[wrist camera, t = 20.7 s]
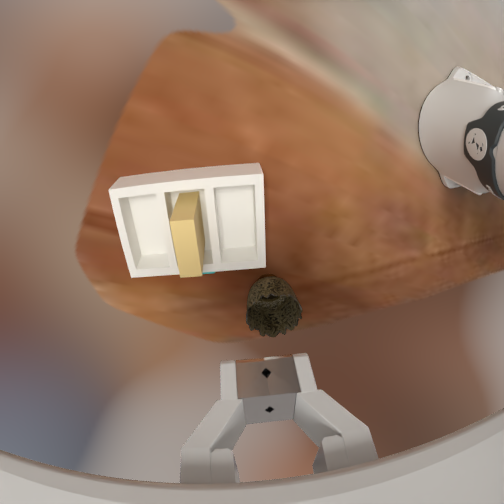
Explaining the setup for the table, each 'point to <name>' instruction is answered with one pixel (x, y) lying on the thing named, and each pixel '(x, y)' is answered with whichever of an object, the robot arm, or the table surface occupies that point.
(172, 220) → the panel
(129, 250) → the rack
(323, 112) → the table surface
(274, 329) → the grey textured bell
